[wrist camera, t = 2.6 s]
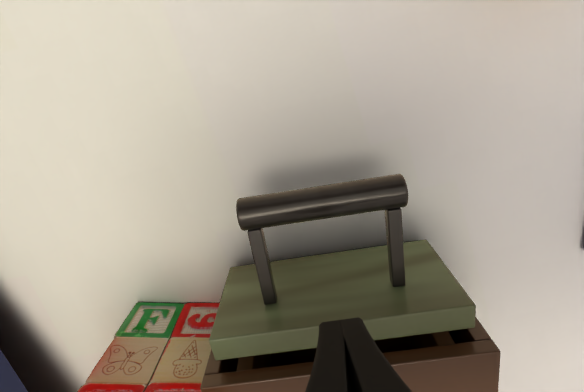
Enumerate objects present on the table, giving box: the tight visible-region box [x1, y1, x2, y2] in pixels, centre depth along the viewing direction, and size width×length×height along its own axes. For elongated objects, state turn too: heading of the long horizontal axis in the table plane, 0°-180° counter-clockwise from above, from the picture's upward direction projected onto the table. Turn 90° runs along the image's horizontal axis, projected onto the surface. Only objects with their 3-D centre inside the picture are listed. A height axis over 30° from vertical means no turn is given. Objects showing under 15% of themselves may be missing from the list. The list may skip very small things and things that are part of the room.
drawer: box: [209, 174, 476, 371], centre depth 19 cm, size 19×11×6 cm, turn 9°
